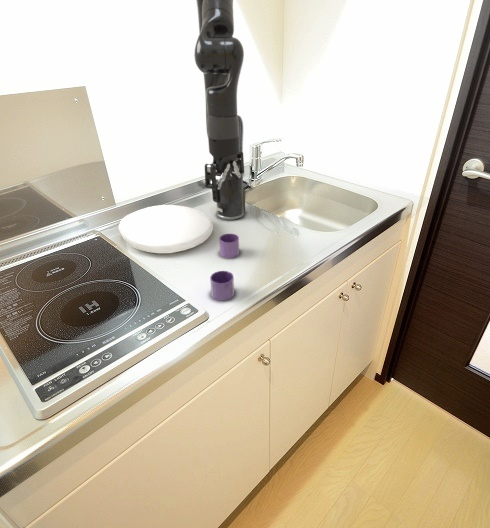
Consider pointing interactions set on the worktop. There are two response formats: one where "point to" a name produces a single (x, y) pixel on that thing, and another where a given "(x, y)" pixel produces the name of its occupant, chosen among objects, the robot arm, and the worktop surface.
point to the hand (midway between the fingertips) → (226, 196)
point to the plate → (165, 228)
